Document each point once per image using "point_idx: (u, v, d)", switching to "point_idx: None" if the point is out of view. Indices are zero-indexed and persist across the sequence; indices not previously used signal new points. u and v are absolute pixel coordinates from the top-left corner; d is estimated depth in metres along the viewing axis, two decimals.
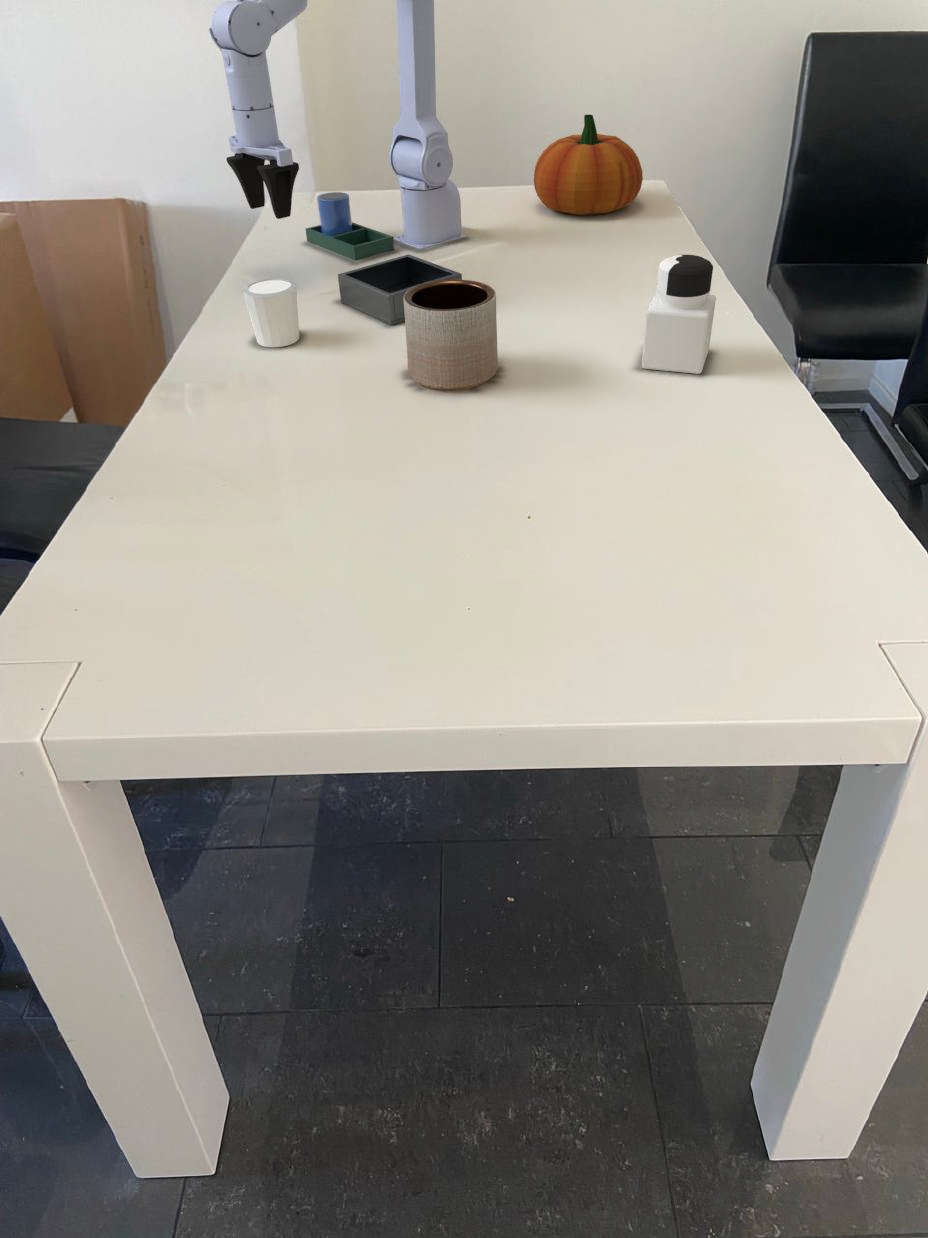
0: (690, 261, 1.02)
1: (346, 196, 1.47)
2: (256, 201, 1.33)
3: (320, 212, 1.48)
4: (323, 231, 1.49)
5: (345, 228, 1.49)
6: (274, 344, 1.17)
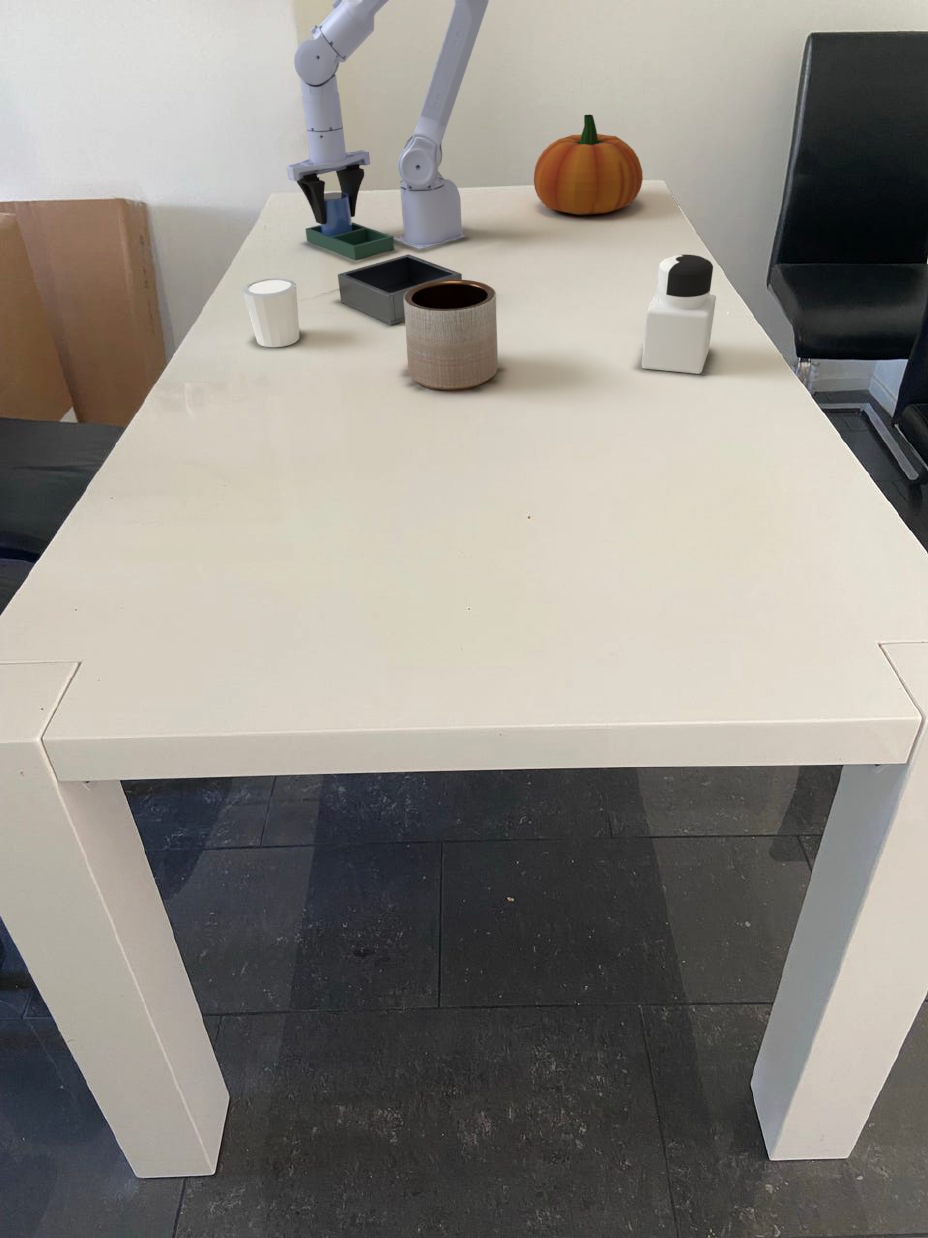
0: (690, 260, 1.02)
1: (346, 196, 1.47)
2: None
3: None
4: (323, 231, 1.49)
5: (345, 228, 1.49)
6: (274, 344, 1.17)
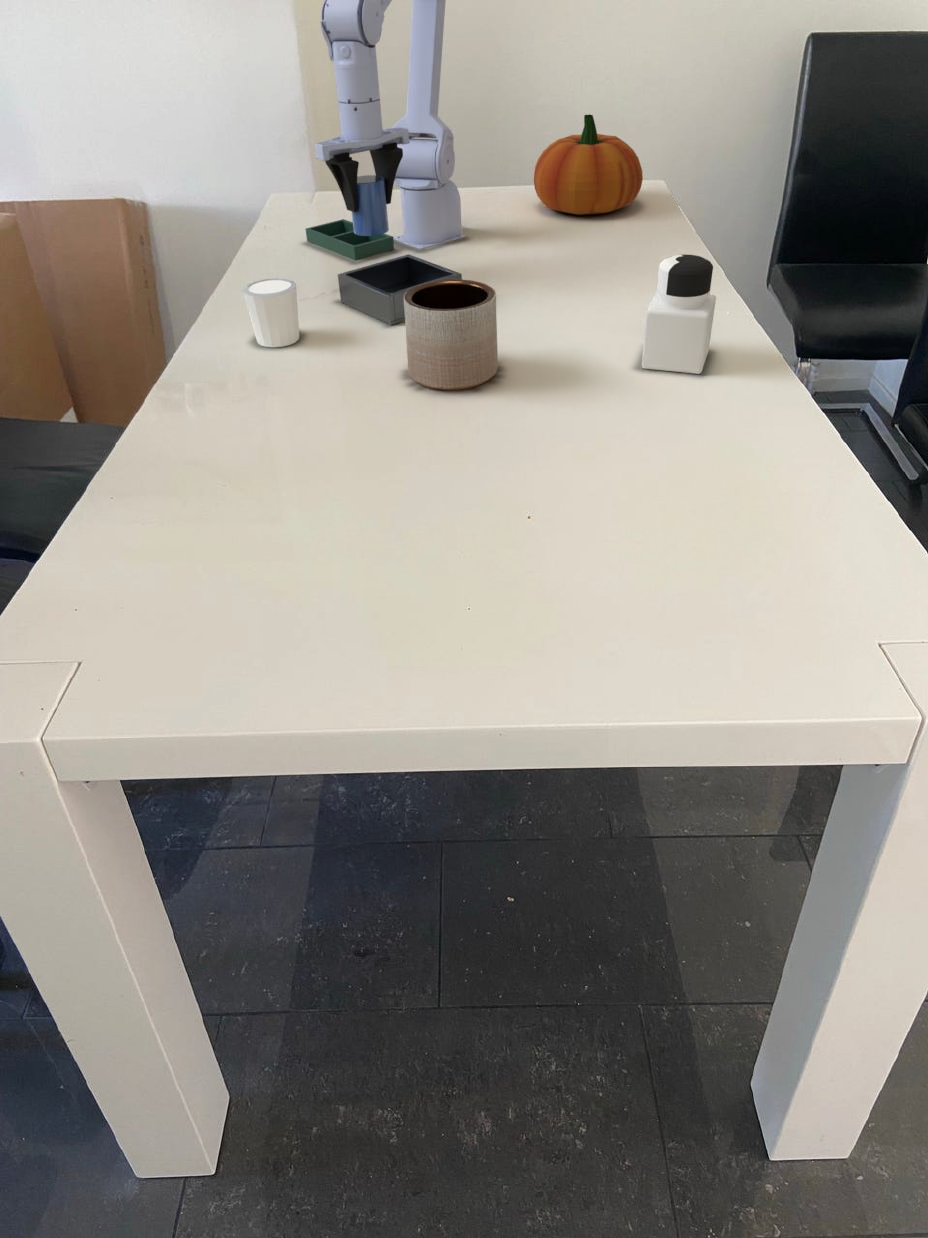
0: (690, 260, 1.02)
1: (381, 179, 1.28)
2: None
3: None
4: (354, 220, 1.30)
5: (380, 217, 1.30)
6: (274, 344, 1.17)
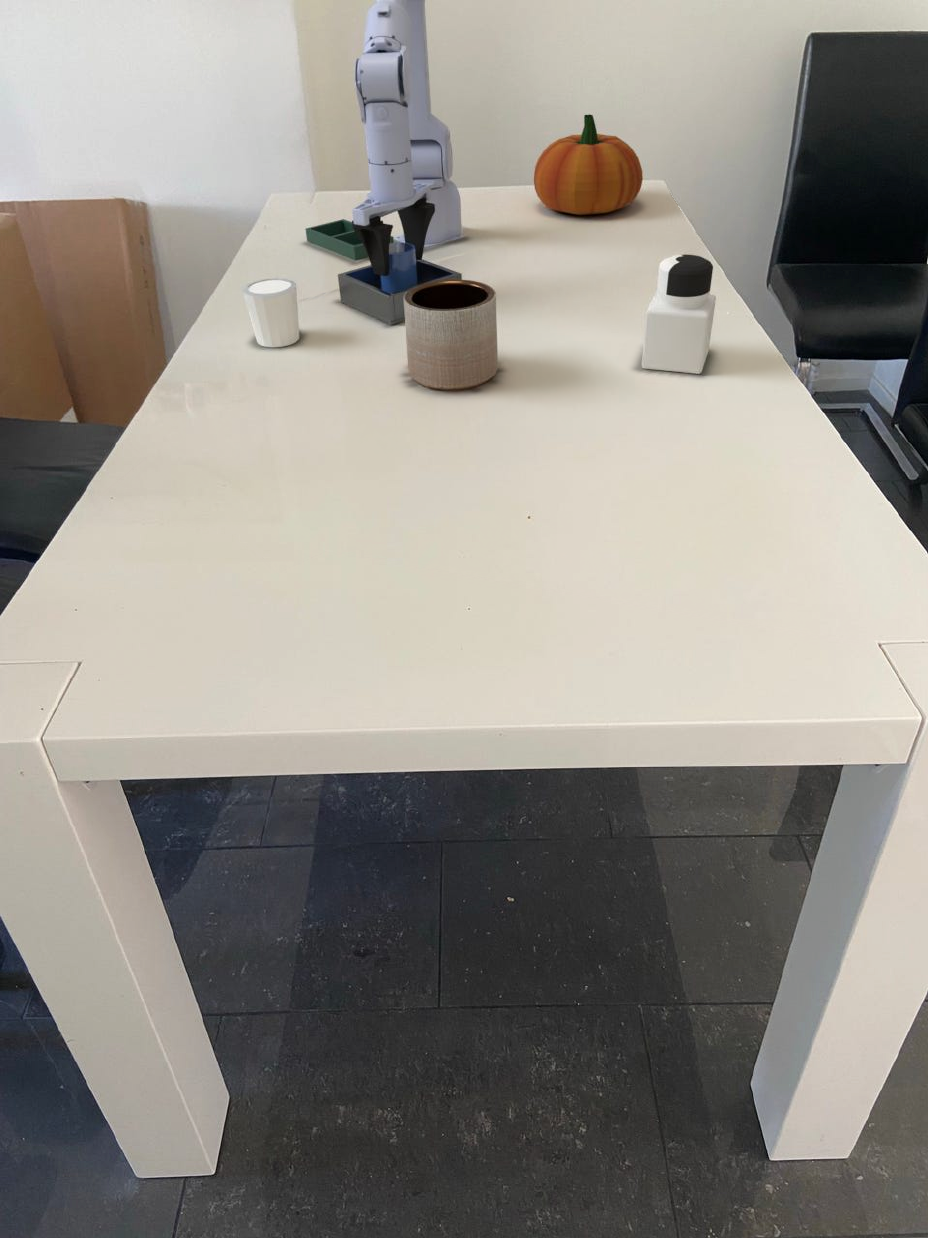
0: (690, 260, 1.02)
1: (413, 247, 1.24)
2: None
3: None
4: (387, 290, 1.26)
5: (414, 284, 1.26)
6: (274, 344, 1.17)
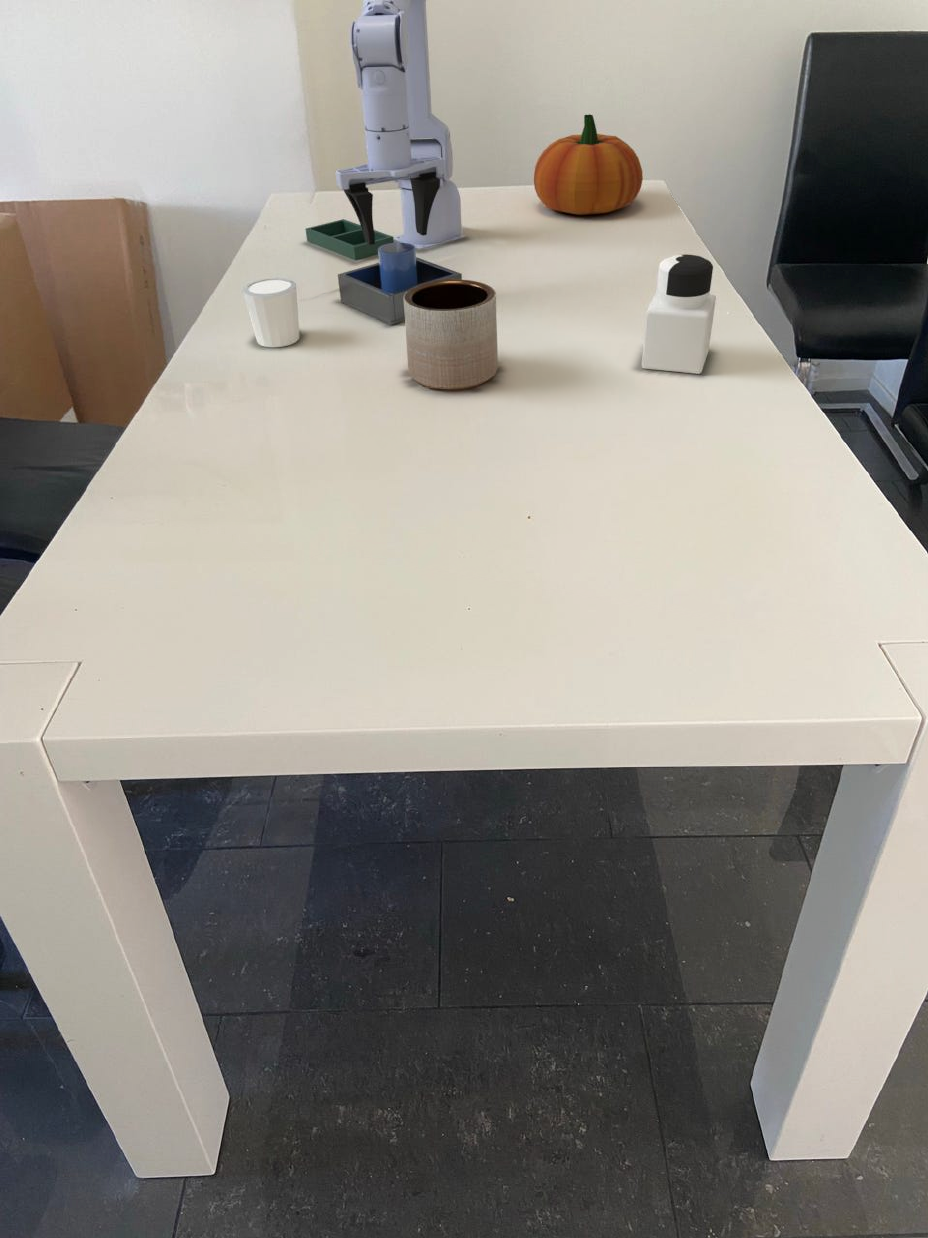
0: (690, 260, 1.02)
1: (413, 247, 1.24)
2: None
3: (384, 268, 1.24)
4: (387, 290, 1.26)
5: (414, 284, 1.26)
6: (274, 344, 1.17)
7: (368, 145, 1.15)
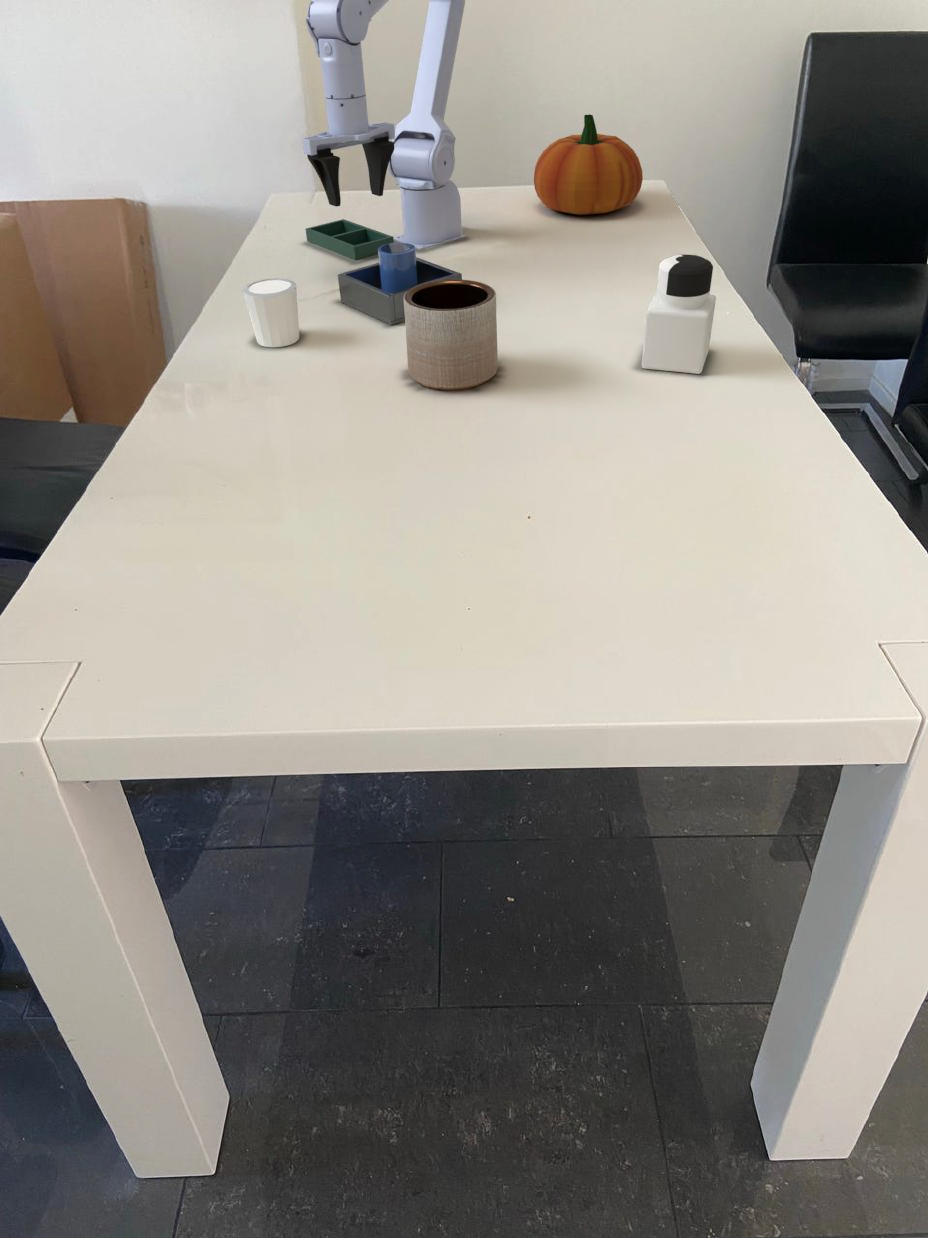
0: (690, 260, 1.02)
1: (413, 247, 1.24)
2: None
3: (384, 268, 1.24)
4: (387, 290, 1.26)
5: (414, 284, 1.26)
6: (274, 344, 1.17)
7: (331, 113, 1.25)
